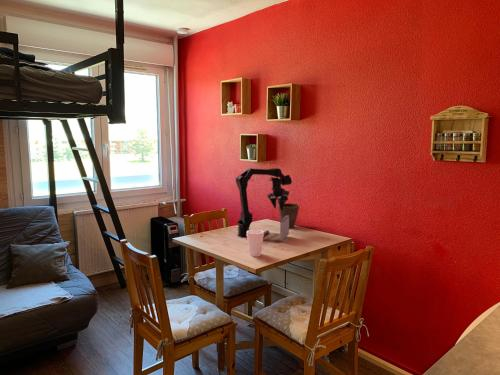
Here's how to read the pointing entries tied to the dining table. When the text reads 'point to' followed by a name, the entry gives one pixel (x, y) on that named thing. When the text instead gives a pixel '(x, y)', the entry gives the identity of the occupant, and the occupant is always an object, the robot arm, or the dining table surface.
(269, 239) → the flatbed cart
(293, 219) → the plant pot
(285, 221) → the tailgate
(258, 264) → the dining table surface
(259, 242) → the foam cup
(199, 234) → the dining table surface
